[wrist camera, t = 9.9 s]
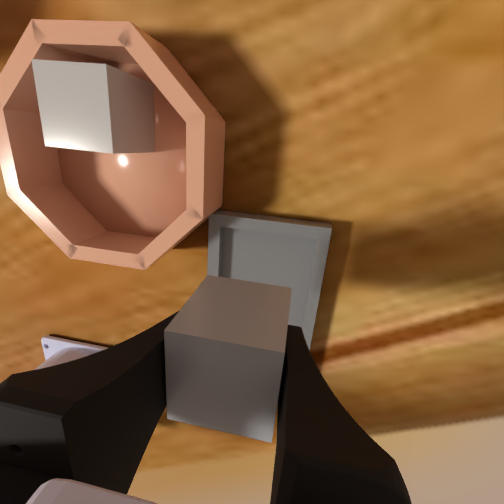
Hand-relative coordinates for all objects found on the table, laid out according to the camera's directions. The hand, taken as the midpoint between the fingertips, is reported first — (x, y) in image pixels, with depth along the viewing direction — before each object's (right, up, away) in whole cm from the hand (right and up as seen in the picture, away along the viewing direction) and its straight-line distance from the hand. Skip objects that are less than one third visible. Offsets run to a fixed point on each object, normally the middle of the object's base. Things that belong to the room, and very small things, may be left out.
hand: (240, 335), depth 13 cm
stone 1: (-8, +13, +6) cm, 16 cm away
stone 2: (0, +1, +1) cm, 1 cm away
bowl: (-8, +10, +7) cm, 15 cm away
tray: (+1, 0, +9) cm, 9 cm away
